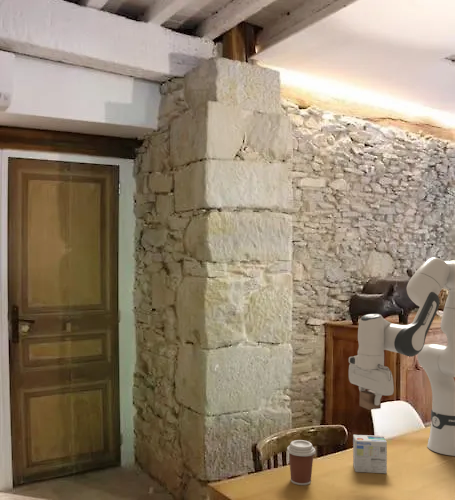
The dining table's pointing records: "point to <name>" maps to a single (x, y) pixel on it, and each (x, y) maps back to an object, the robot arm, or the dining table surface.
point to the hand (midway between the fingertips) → (370, 402)
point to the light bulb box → (369, 454)
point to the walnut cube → (368, 400)
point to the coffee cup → (301, 461)
